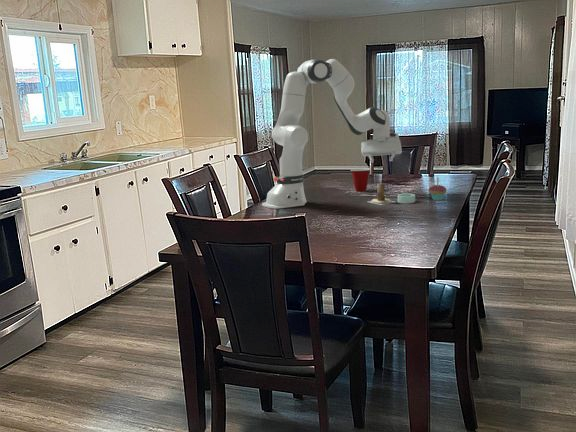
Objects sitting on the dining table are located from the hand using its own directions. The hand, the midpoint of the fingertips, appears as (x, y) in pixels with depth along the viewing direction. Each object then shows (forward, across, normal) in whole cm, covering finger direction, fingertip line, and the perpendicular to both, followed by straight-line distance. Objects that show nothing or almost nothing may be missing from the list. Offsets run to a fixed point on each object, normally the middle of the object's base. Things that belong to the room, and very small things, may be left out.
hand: (381, 161), depth 286 cm
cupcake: (+18, +26, +9) cm, 33 cm away
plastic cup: (+1, -14, +25) cm, 29 cm away
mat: (+23, 0, +2) cm, 23 cm away
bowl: (+22, +12, +4) cm, 25 cm away
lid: (+22, 0, +2) cm, 22 cm away
